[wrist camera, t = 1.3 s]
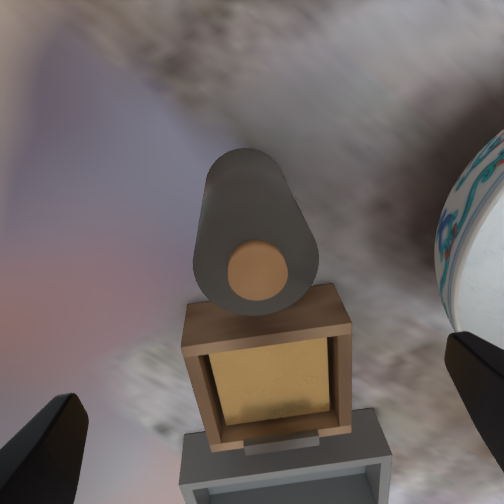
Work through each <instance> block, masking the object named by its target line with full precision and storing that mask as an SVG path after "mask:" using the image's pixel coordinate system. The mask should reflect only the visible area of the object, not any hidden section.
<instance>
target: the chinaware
mask: <svg viewBox="0 0 504 504" xmlns="http://www.w3.org/2000/svg"><path fill="white" fill-rule="evenodd" d="M434 259H435V272H436V279H437V284H438V289H439V293H440V296H441V300H442V303H443V306H444V308H445V311H446V314H447V316H448V318H449V321H450V323H451V325H452V327H453V329H454V331H455V332H462V331H468V332H471V333H473V334H475V335H477V336H479V337H481V338H482V339H484V340H486V341H488V342H490V343H492V344H494V345H496V346H498V347H500V348H502V349H504V129H503V130H502V131H501V132H500V133H498V134H497V135H496V136H495V137H494V138H493V139H492V140H490V141H489V142H488V143H487V144H486V145H485V146H484V147H483V148H482V149H481V150H480V151H479V152H478V153H477V155H476V156H475V157H474V158H473V159H472V160H471V162H470V163H469V164H468V165H467V167H466V168H465V169H464V171H463V172H462V173H461V175H460V176H459V178H458V180H457V181H456V183H455V184H454V186H453V188H452V190H451V192H450V194H449V196H448V198H447V200H446V202H445V205H444V207H443V210H442V213H441V216H440V219H439V223H438V227H437V232H436V239H435V251H434Z"/></svg>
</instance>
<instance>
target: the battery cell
mask: <svg viewBox="0 0 504 504" xmlns="http://www.w3.org/2000/svg"><path fill="white" fill-rule="evenodd" d="M318 264H319V254H318V248H317V244H316V241H315V239H314V237H313V235H312V233H311V231H310V229H309V227H308V225H307V223H306V221H305V219H304V217H303V215H302V213H301V211H300V209H299V207H298V205H297V203H296V200H295V198H294V196H293V194H292V192H291V190H290V188H289V186H288V184H287V182H286V180H285V178H284V176H283V174H282V172H281V170H280V168H279V167H278V165H277V164H276V162H275V161H274V160H273V159H272V158H271V157H269V156H268V155H267V154H265V153H263V152H261V151H258V150H255V149H248V148H242V149H236V150H232V151H229V152H227V153H225V154H224V155H222V156H221V157H219V158H218V159H217V160H216V161H215V162H214V164H213V165H212V166H211V168H210V170H209V172H208V174H207V178H206V183H205V190H204V195H203V201H202V208H201V214H200V220H199V226H198V232H197V238H196V244H195V250H194V257H193V270H194V275H195V278H196V281H197V283H198V285H199V287H200V289H201V290H202V292H203V293H204V294H205V296H206V297H207V298H208V299H209V300H211V301H212V302H213V303H214V304H216V305H217V306H219V307H220V308H222V309H224V310H226V311H229V312H232V313H236V314H240V315H247V316H259V315H266V314H271V313H275V312H278V311H280V310H283V309H285V308H287V307H289V306H290V305H292V304H293V303H295V302H296V301H298V300H299V299H300V298H301V297H302V296H303V295H304V294H305V293H306V292H307V290H308V289H309V287H310V286H311V284H312V283H313V281H314V279H315V276H316V273H317V270H318Z"/></svg>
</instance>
